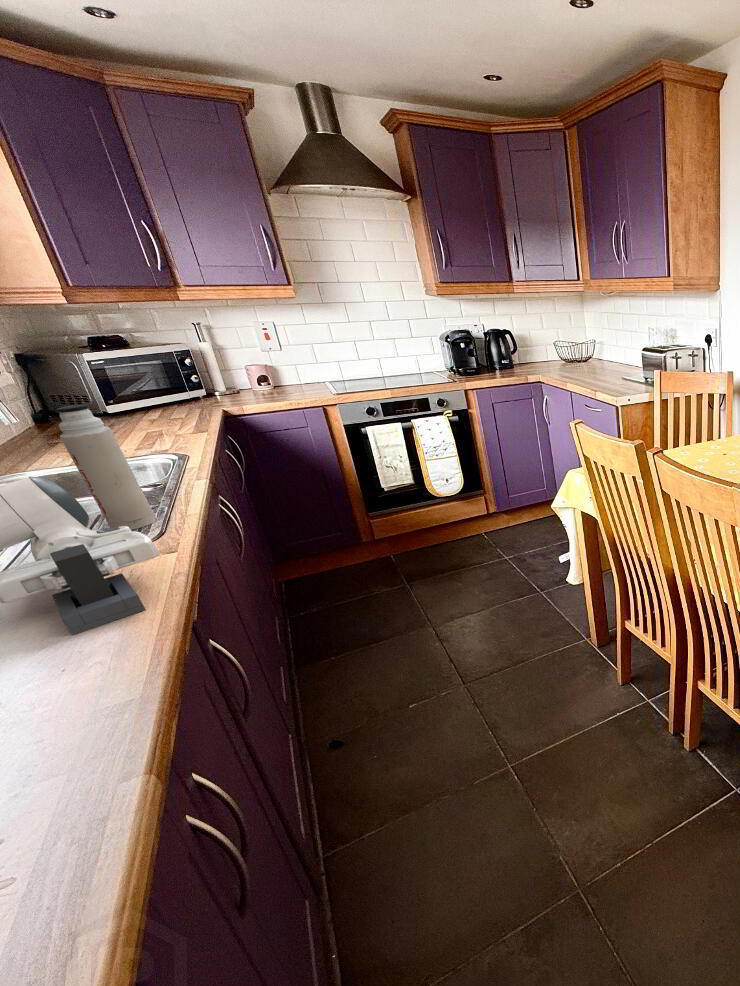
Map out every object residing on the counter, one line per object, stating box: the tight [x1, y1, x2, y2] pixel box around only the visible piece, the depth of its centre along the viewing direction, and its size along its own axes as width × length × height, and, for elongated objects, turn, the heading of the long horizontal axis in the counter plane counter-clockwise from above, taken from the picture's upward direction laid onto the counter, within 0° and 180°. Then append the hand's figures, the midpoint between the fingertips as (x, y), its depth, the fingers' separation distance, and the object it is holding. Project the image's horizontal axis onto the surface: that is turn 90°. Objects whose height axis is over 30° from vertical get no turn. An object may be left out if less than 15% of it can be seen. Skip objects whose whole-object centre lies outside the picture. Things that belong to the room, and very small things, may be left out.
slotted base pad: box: [51, 573, 146, 636], centre depth 99 cm, size 14×9×3 cm, turn 52°
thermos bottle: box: [56, 403, 157, 531], centre depth 131 cm, size 8×8×28 cm
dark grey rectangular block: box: [50, 544, 114, 606], centre depth 97 cm, size 6×4×10 cm, turn 52°
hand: (84, 577), depth 97 cm, fingers closed on dark grey rectangular block, 4 cm apart
